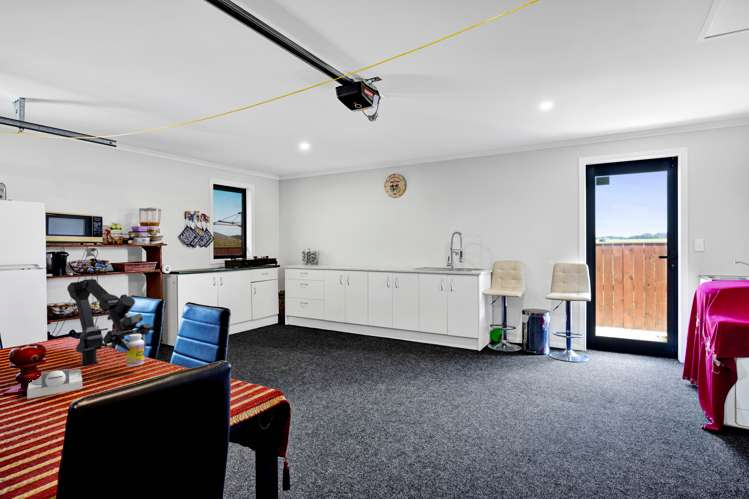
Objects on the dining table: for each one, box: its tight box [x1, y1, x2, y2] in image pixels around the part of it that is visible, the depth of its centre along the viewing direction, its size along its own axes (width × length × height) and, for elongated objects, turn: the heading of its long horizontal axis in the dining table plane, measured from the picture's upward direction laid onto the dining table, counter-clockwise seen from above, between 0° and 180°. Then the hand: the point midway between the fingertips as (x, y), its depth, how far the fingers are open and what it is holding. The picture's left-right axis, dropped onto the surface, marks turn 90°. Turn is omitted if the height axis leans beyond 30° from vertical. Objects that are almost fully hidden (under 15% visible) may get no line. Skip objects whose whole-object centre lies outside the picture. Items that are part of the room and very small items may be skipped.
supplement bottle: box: [125, 334, 145, 367], centre depth 173 cm, size 7×7×13 cm
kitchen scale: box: [26, 368, 83, 400], centre depth 156 cm, size 21×16×8 cm
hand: (137, 348), depth 173 cm, fingers closed on supplement bottle, 7 cm apart
